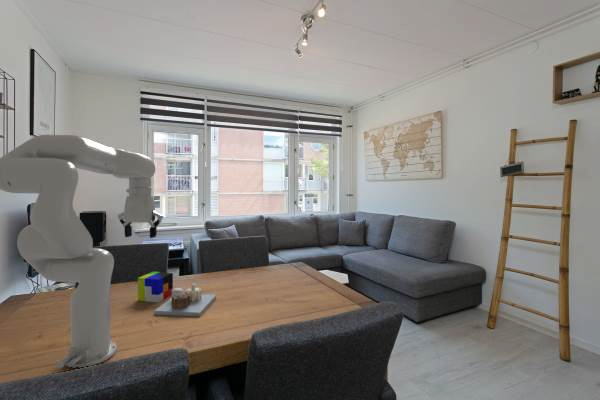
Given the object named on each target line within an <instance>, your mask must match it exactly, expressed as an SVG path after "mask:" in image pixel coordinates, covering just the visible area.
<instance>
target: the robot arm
mask: <svg viewBox="0 0 600 400" xmlns="http://www.w3.org/2000/svg"><path fill="white" fill-rule="evenodd" d="M77 169H79V170H85V171H89V172H92V173H97V174H104V175H112V176H113V177H115V178H118V179H127V180H128V189H126V193H127V194H128V195H126V197H125V202H124V211H122V212H121V213H119V214H118V215H117V218H118V219H119V222H120V223H121V224H122V226H123V228H124V237H125V238H130V237H132V236H133V227H132V224H133V223H137V224H138V223H143V224H144V223H145V224H146V223H148V224H149V226H150V227H149V238H150V239H153V238H156V237H157V235H158V234H157V233H158V232H157V231H158V230H157V229H158V228H157V227H158V226H159V225H160V224H161V223H162V221H163V218H164V215H163V214H161V213H159V212H157V210H156V205H155V200H154V196H153V195H152V178H153V177H154V175H155V173H156V165H155V162H154V161H153V159H151V158H150V157H149V156H146V155H144V154H141V153H137V152H134V151H133V152H132V151H129V150H124V149H120V148H115V147H110V146H106V145H104V144H101V143H98V142H96V141H93V140H91V139H88V138H85V137H83V136H79V135H74V134H40V135H37V136H35V137H32V138H30V139H28V140H26V141H25V142H23V143H21V144H19V145H18V146H16V147H15V148H13V149H12V150H10V151H8V152H7V153H6V154H4V155H3V156H1V157H0V190H1V191H3V192H5V193H10V194H38V195H37V198H36V200H35V203H34V205H33V206H32V208H31V211H30V214H29V221H30V223H31V224H29V225H27V226H25V227H24V228H22V230H21V231H20V232H19V234H18V236H17V239H16V241H17V242H16V246H17V249H18V252H19V255H20V256H21V257H22V258H23V259H24V260H25V261H26V262H27V263H28V264H29V265H30V266H31V267H32V268H33V269H34V270H35V271H36V272H37V273H38V274H39V275H41V276H42V278H44V279H45V280H47V281H50V282H60V283H61V282H63V283H64V282H65V283H66V282H67V283H68V282H69V283H78V285H77V287H76V288H75V289H74V291H73V292H72V294H71V295H70V301H69V315H70V318H69V319H70V320H69V321H70V325H69V327H70V347H69V348H68V350H67V354H66V355H65V356H64V357H63V358H61V359H60V360H58V361H57V362H56V367H57V368H58V369H62V368H64V367H65V366H66V367H67V368H71V367H72V369H77V368H76V367H79V368H78V369H80V368H81V367H82V366H84V367H83V368H87V367H86V366H88V367H91V366H95V365H98V364H101V363H103V362H105V361H107V360H108V359H111V357H113V356H114V355H115V354H116V352H117V349H118V347H117V344H116V343H115V342H114V341H112V340H111V338H112V337H111V336H112V335H111V334H112V333H111V282H112V276H113V271H114V265H115V259H114V256H113V254H112V253H111V252H110V251H108V250H106V249H103V248H97V247H96V248H95V247H93V245H94V242H93V241H94V240H93V237H92V235H91V233H90V231H89V230H88V229H87V227H86V226H85V225H84V223H83V222H82V220H81V219H80V218H79V216H78V215H77V213H76V212H75V211H76V210H74V205H73V204H74V203H73V202H74V197H75V194H76V190H77V186H78V184H79V172H78V170H77ZM156 218H157V219H156ZM81 369H82V368H81Z"/></svg>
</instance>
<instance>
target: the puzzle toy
mask: <svg viewBox="0 0 600 400" xmlns="http://www.w3.org/2000/svg"><path fill="white" fill-rule="evenodd" d="M173 285H174V274H173V272H164V271H162V272H161V271H151V272H149V273H147V274H143V275H142V276H139V277H138V278H137V301H141V302H150V303H160V302H162V301H164V300H166V299H167V298H169V297H172V289H174V286H173Z"/></svg>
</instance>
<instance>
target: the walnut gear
mask: <svg viewBox="0 0 600 400" xmlns="http://www.w3.org/2000/svg"><path fill="white" fill-rule="evenodd" d="M171 298H172V307H173V309H182V308H187V307H188V306H189V295H188V294H185V293H183V297H181V298H179V294H178V295H174V297H172V296H171Z"/></svg>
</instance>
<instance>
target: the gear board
mask: <svg viewBox="0 0 600 400" xmlns="http://www.w3.org/2000/svg"><path fill="white" fill-rule="evenodd" d="M190 286H191V287H190V288H187V289H186V290H184V289H183V288H181V287H175V288H173V289H172V295H171V297H170V298H169V299H168V300H166V301H165V302H164V303H163V304H161V305H160V306H159V307H157V308H156V309H155V310H153V312H154V313H153V314H154V315H155V316H156V315H157V316H176V317H178V316H180V317H200V316H202V314H203V313H204V312H206V311H207V309H208V308H209V307H210V306H211V304H212V303H213V302H214V301H215V300H216V299H217V294H206V293H205V294H203V293H202V288H200V287H196V283H191V285H190ZM178 294H179V298H181V297H183V294H188V295H189V306H188V307H187V308H182V309H173V307H172V297H174V295H178Z"/></svg>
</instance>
